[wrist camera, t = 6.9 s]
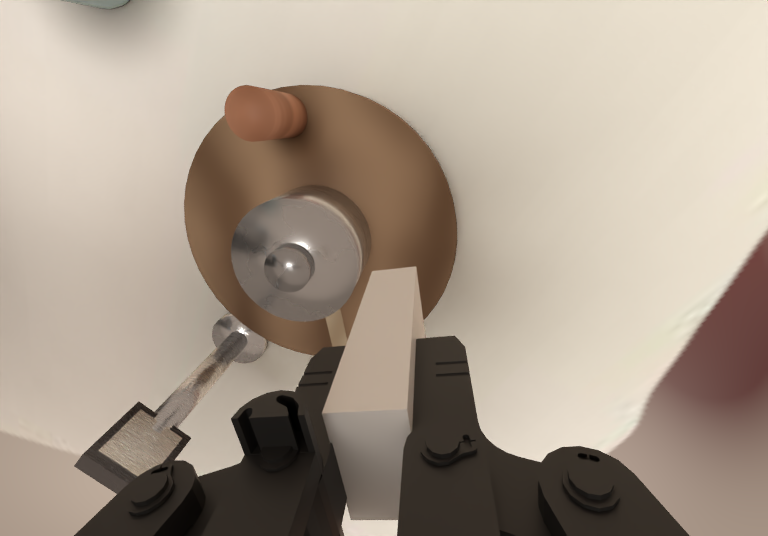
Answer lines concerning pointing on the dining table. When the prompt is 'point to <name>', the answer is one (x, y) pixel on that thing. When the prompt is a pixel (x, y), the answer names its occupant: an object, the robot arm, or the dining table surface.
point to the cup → (100, 3)
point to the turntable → (326, 168)
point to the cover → (301, 252)
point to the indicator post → (166, 414)
